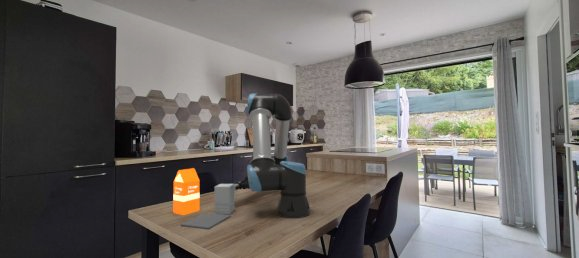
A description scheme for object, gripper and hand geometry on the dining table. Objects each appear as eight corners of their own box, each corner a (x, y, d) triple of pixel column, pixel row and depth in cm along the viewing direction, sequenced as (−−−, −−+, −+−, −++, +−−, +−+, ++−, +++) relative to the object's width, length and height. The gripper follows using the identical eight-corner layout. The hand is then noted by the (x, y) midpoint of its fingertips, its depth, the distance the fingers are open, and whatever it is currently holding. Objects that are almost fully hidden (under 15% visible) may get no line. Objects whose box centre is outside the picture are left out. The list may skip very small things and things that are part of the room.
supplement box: (234, 210, 119) (234, 183, 120) (229, 214, 112) (229, 186, 112) (220, 209, 120) (220, 183, 120) (213, 214, 112) (214, 186, 113)
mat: (206, 214, 113) (206, 212, 113) (231, 216, 109) (231, 215, 109) (180, 225, 98) (180, 224, 98) (208, 229, 94) (208, 227, 94)
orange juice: (199, 210, 119) (199, 168, 120) (183, 215, 111) (183, 170, 112) (189, 208, 123) (189, 167, 124) (172, 212, 115) (173, 169, 116)
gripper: (262, 188, 142) (242, 197, 119) (242, 187, 146) (219, 196, 123) (262, 175, 142) (242, 182, 120) (242, 174, 146) (219, 180, 124)
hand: (230, 189), depth 122 cm, fingers closed
